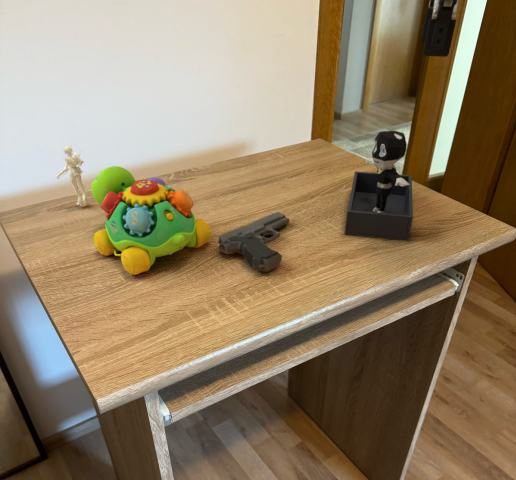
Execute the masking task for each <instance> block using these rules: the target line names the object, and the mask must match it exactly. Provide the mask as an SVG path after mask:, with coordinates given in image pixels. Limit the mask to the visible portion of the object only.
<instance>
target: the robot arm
mask: <svg viewBox="0 0 516 480" xmlns="http://www.w3.org/2000/svg"><path fill="white" fill-rule="evenodd" d="M458 6H459V0H429V3H428V7H426V10H425V11H426V12H425V17H424V22H423V29H422V34H421V41H422V42H424V46H423V50H422V51H423V52H422V53H423V56H425V57H440V58H443V57H444V58H446V57H448V56H449V54H450V50H451V47H452V42H453V36H454V32H455V28H456V23H457V18H456V17H457V14H458V13H457V12H458Z"/></svg>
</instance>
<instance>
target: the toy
mask: <svg viewBox="0 0 516 480" xmlns="http://www.w3.org/2000/svg"><path fill="white" fill-rule="evenodd" d="M406 152H407V139H406V135H405V133H404V132H401V131H397V130H382V131H379V132H378V133H377V135H376V136H375V138H374V147H373V149H372V152H371V157H367V159H365V163H366V164H370V165H374V167H375V168H376V169H377V170H376V173H377V174H378V183H377V187H376V191H377V200H376V207H375V208H374V209H373V211H374V212H377V211H378V212H377V213H384V210H385V206H386V202H387V197H388V196H389V194H390V193H391V191H392V186H391V183H390V182H391V181H392V180H395V181H396V184H395V185H396V186H398V185H400V186H402V187H403V186H407V185H409V183H408V182H406V181H405V180H404V179H403V178H401V177H400V175H401V174H399V172H397V167H396V166H395V164H396V163H397V162H399V161H401V159H402V158H404V157H405V155H406Z"/></svg>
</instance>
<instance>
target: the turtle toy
mask: <svg viewBox="0 0 516 480" xmlns="http://www.w3.org/2000/svg"><path fill="white" fill-rule="evenodd" d="M90 192H91V194H92V197H93V199H94V201H95V202H96V203H97V204H98V205H99V206H100V208H101V210H102V211H104V212H105V213H107V214H106V215H105V218H106V222H105V225H104V227H105V228H103V229H101V230H98V231H96V232H95V233H94V235H93V243H94V245H95V247H96V249H97V251H98V252H99V253H100V254H101V255H102V256H110V255H111V256H112V255H113V254H114V256H117V257H120V261H121V264H122V267H123V268H124V269H125V271H126V272H127V273H128V274H130V275H139V274H141V273H145V272H148V271H149V270H150V268H151V267H152V266H153V265H154V263H155V262H156V258H158V257H164V256H171V255H173V253H177V252H178V251H180V250H183V249H184V247H187V248H195V249H197V248H200V247H202V246H203V245H205V244H207V243H209V242H210V240H211V238H212V230H211V228H210V225H209V224H208V222H206V221H205V220H204V219H201V218H199V219H198V218H197V219H196V216H195V213H193V212H192V208H193V207H194V204H195V203H194V199H193V198H192V197H191V195H190V194H189V193H188V192H187V191H185V190H181V189H180V190H179V191H177V190H176V189H174V188H173V187H171V186H167V185H166V182H165V181H164V180H163V179H161V178H159V177H149V178H148V179H141V180H136V179H135V177H134V175H133V174H132V173H131V172H130V171H129V170H128V169H126V168H124V167H122V166H119V165H118V166H115V165H113V166H108V167H106V168H105V169H103V170H101V171H100V172H99V173H98V175H97V177H96V178H95V179H94V180H93V181H92V183H91V185H90ZM118 252H121V253H118Z"/></svg>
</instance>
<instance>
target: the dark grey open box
mask: <svg viewBox="0 0 516 480" xmlns="http://www.w3.org/2000/svg"><path fill="white" fill-rule="evenodd" d="M399 175H400V177H401V178H403V179H404V180H405V181H406V182H408V183H409V185H407V186H403V187H402V186H400V185H398V186H396V185H395V184H396V181H395V180H392V181H391V182H390V183H391V186H392V191H391V193H390V194H389V196H388V197H387V202H386V206H385V210H384V213H377V212H378V211H377V212H374V211H373V209H374V208H375V207H376V200H377V191H376V187H377V183H378V174H377V172H368V171H359V170H358V171H356V170H355V171H354V174H353V179H352V183H351V189H350V194H349V199H348V206H347V211H346V219H345V227H344V235H346V236H357V237H369V238H378V239H390V240H397V241H398V240H399V241H409V237H410V235H411V230H412V225H413V224H412V223H413V220H414V205H413V204H414V203H413V201H414V200H413V175H412V174H411V175H410V174H399Z"/></svg>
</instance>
